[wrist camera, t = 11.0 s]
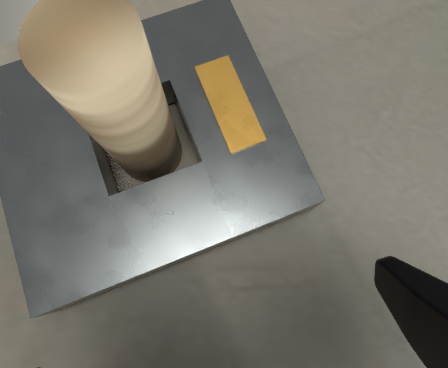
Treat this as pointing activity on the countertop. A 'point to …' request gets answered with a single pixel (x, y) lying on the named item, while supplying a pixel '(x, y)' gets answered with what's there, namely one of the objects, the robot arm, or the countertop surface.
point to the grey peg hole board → (155, 189)
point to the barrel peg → (104, 79)
